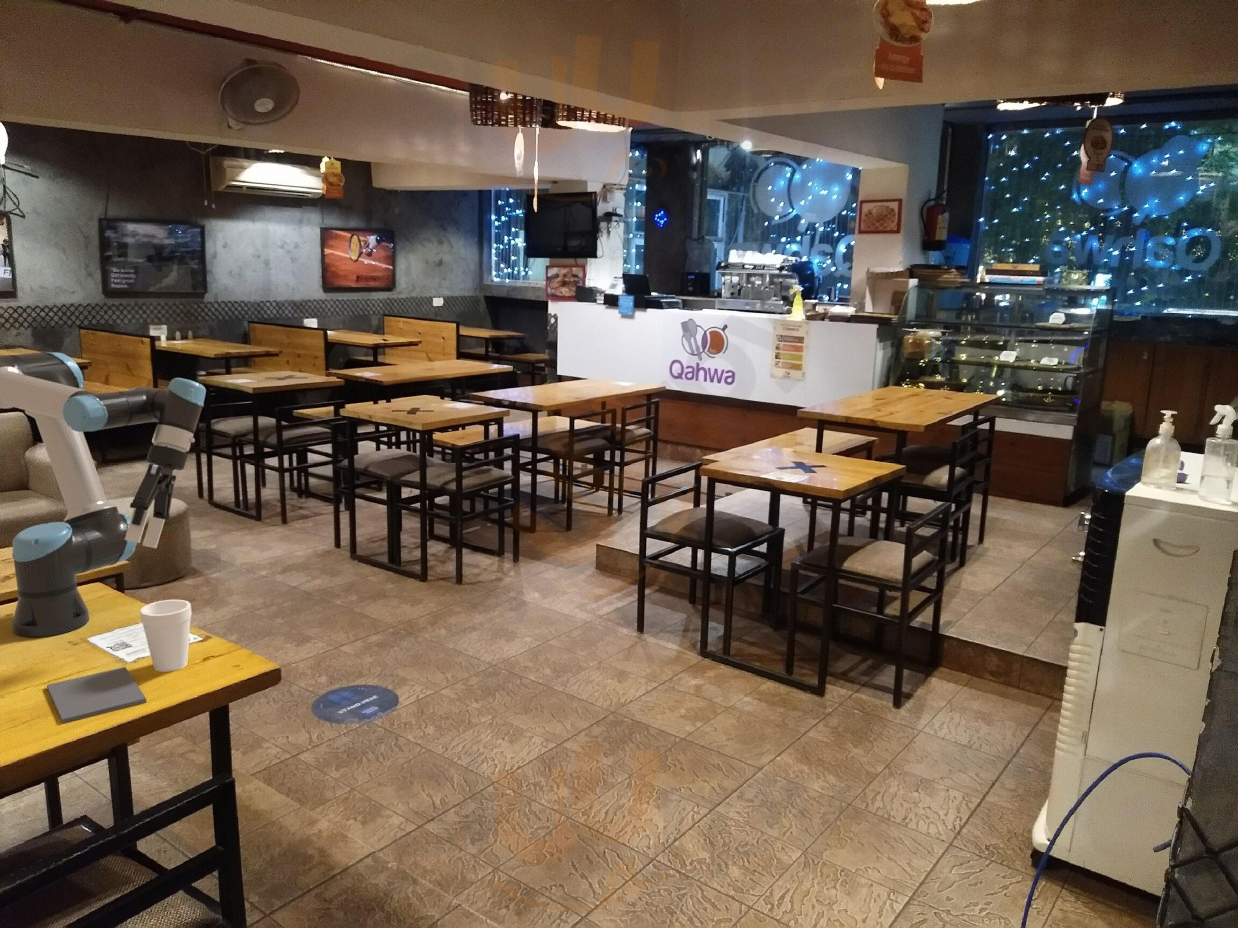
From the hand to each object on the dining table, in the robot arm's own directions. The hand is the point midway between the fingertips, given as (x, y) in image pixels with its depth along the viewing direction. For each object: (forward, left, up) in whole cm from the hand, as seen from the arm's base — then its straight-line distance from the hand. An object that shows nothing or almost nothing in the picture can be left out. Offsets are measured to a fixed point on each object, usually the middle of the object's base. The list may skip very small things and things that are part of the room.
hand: (140, 544), depth 191 cm
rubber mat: (+15, -13, -25) cm, 32 cm away
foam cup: (+9, +2, -25) cm, 27 cm away
